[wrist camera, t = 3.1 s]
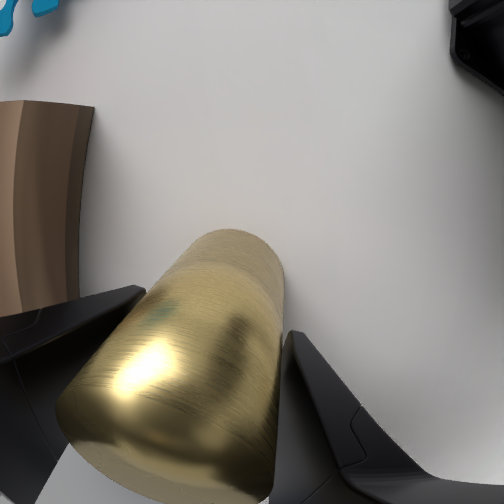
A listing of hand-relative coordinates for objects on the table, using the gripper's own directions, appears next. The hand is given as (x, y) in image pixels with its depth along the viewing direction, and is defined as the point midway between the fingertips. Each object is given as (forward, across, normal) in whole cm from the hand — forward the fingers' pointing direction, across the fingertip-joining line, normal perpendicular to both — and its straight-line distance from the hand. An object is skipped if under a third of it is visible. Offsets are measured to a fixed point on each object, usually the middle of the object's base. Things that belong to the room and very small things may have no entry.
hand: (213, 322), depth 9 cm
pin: (+3, 0, 0) cm, 3 cm away
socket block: (+3, +12, 0) cm, 13 cm away
